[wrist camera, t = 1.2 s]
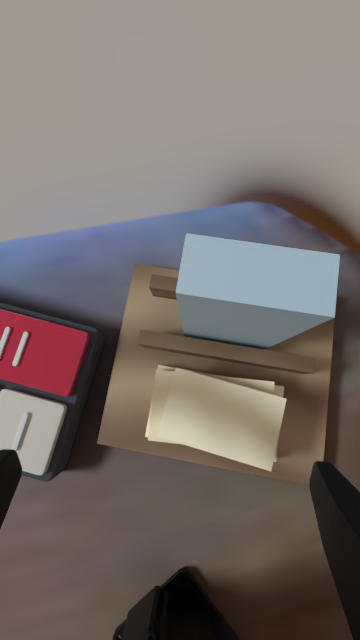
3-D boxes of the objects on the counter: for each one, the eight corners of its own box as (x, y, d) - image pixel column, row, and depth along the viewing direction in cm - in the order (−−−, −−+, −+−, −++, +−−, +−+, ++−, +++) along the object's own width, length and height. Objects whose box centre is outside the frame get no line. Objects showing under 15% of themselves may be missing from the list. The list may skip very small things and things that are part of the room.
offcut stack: (271, 460, 22) (285, 474, 18) (146, 436, 22) (138, 445, 19) (280, 383, 23) (294, 384, 19) (160, 363, 23) (154, 360, 20)
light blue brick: (263, 350, 23) (334, 317, 11) (184, 336, 24) (175, 292, 12) (267, 317, 24) (339, 254, 12) (190, 305, 24) (186, 233, 12)
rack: (314, 482, 22) (337, 500, 19) (101, 440, 24) (85, 450, 20) (330, 297, 25) (352, 284, 21) (137, 269, 26) (128, 251, 23)
